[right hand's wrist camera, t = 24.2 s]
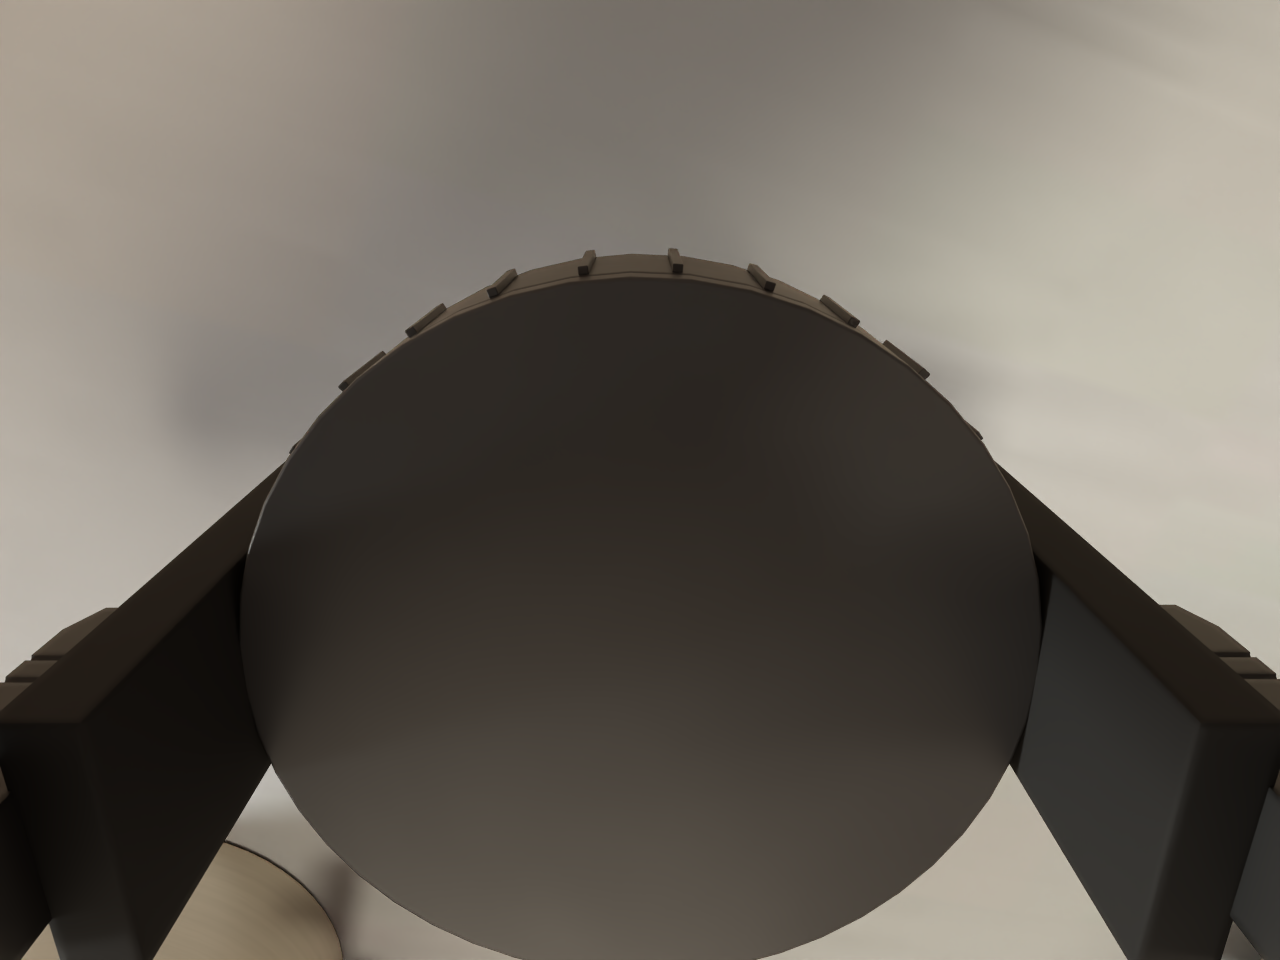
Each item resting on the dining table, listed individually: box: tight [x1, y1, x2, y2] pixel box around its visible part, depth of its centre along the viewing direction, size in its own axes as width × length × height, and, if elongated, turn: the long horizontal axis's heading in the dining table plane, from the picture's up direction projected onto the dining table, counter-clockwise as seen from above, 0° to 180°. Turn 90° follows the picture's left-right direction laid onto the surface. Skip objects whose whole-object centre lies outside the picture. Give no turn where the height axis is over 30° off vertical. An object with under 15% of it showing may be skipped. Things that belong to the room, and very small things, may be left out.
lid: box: [239, 248, 1042, 960], centre depth 11 cm, size 9×9×2 cm
